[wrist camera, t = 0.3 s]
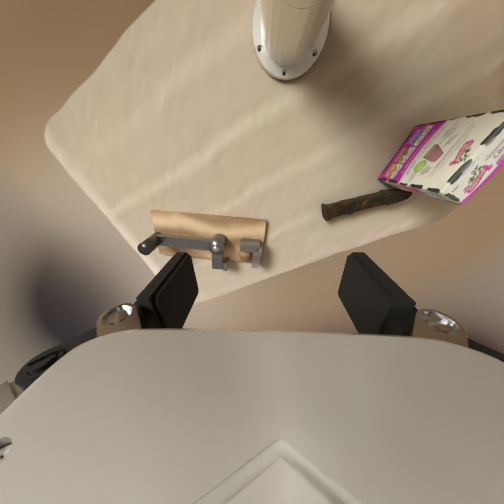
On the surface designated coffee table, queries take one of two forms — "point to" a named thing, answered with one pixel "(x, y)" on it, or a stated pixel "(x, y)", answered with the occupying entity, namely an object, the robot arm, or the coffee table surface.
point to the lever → (189, 246)
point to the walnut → (245, 256)
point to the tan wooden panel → (213, 233)
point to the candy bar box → (449, 157)
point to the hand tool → (364, 202)
